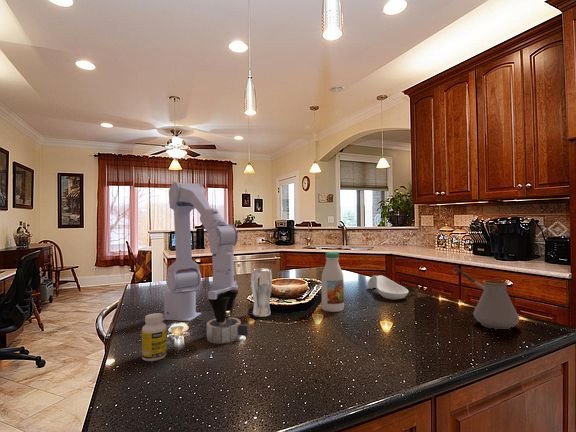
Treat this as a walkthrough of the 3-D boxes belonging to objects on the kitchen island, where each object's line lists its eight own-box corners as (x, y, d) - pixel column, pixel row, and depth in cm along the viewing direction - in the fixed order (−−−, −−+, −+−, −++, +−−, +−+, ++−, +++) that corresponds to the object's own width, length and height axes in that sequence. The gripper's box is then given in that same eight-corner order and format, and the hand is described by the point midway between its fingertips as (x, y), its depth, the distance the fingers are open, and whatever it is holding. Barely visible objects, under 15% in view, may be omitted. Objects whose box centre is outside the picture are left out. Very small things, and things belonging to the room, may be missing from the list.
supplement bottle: (151, 364, 73) (151, 320, 73) (137, 358, 76) (136, 316, 76) (171, 355, 78) (171, 314, 78) (157, 350, 81) (156, 310, 81)
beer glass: (268, 318, 106) (268, 271, 106) (248, 316, 108) (248, 270, 108) (274, 311, 113) (274, 268, 113) (255, 310, 114) (255, 267, 114)
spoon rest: (414, 301, 126) (414, 282, 126) (387, 303, 123) (387, 284, 123) (382, 288, 149) (382, 272, 149) (359, 289, 146) (358, 273, 146)
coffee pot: (529, 330, 92) (529, 276, 92) (498, 334, 89) (497, 279, 89) (468, 309, 113) (468, 266, 113) (441, 312, 110) (440, 267, 110)
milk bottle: (319, 311, 113) (318, 253, 113) (325, 305, 120) (324, 251, 120) (341, 313, 110) (340, 254, 110) (346, 307, 117) (345, 251, 117)
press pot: (200, 342, 86) (200, 326, 86) (215, 330, 95) (215, 316, 95) (241, 345, 84) (241, 329, 84) (252, 332, 92) (252, 318, 92)
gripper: (226, 274, 81) (226, 329, 81) (246, 266, 96) (246, 312, 96) (200, 274, 83) (200, 327, 83) (223, 265, 97) (224, 311, 97)
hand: (223, 319), depth 89 cm, fingers closed on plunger, 4 cm apart
